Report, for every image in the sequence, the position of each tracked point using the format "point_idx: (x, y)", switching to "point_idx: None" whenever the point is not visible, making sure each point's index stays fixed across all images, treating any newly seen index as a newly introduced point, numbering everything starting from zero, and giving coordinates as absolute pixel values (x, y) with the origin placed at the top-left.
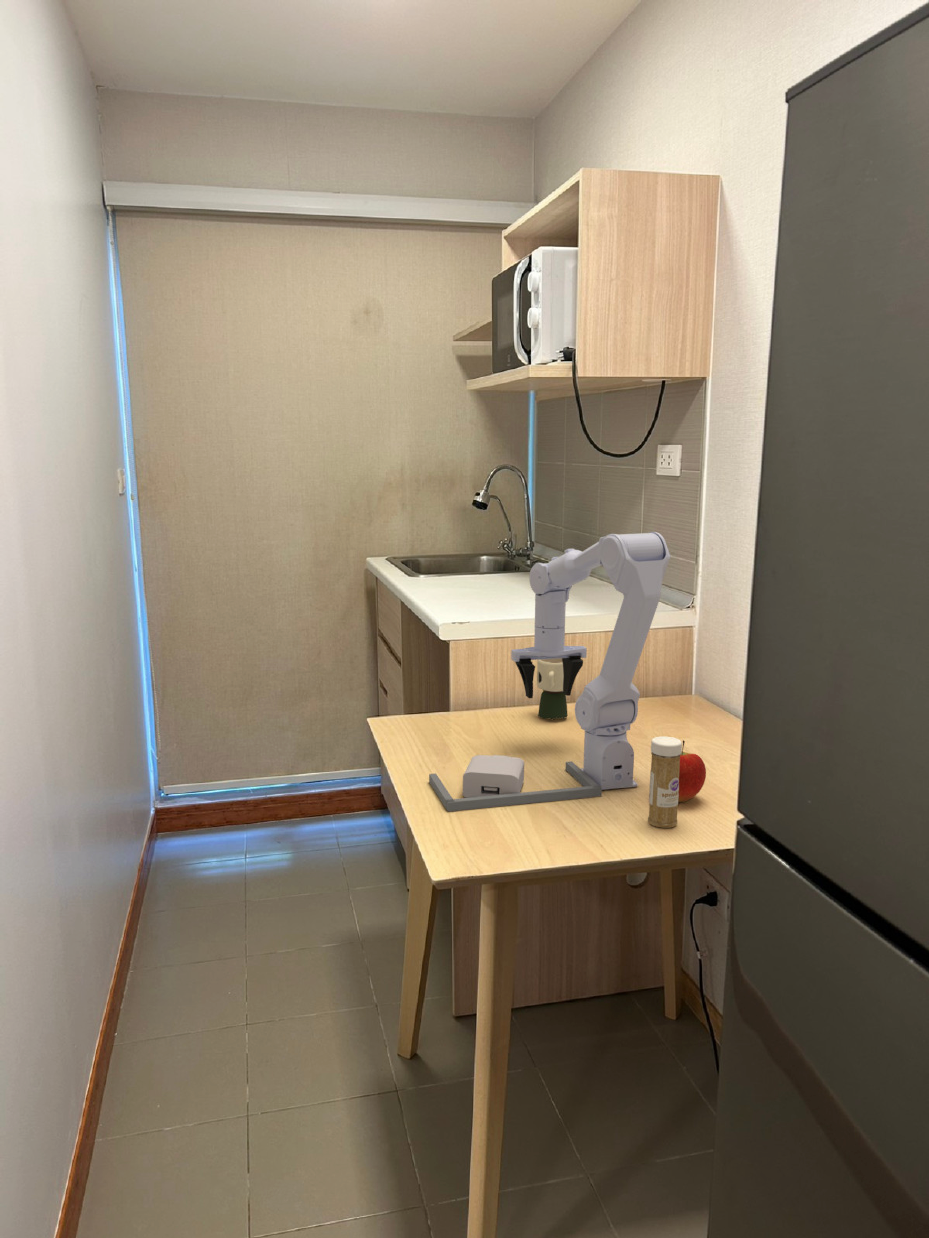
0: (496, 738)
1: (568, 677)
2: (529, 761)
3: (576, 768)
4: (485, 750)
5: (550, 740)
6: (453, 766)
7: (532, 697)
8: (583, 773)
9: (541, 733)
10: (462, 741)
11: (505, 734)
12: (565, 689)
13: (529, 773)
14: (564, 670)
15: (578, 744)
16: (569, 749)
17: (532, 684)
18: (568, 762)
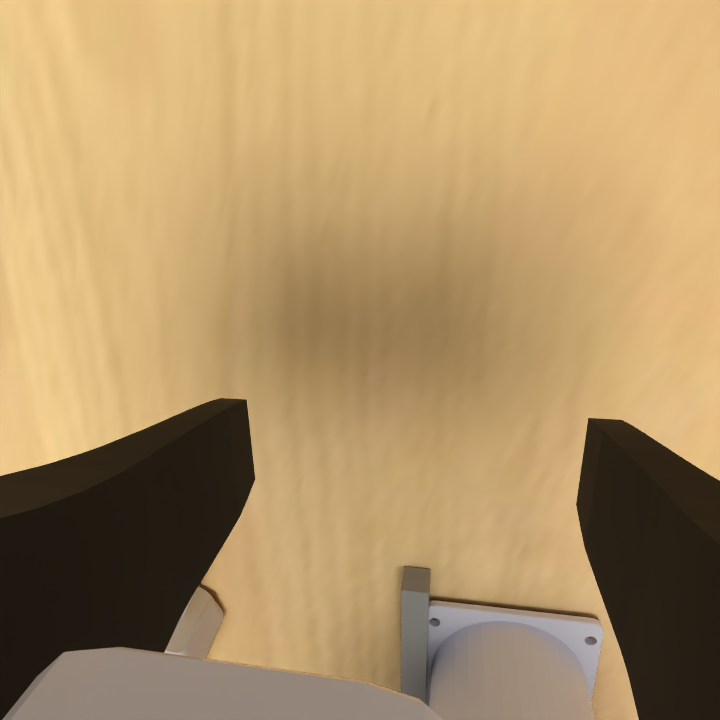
0: (219, 100)
1: (637, 650)
2: (297, 451)
3: (414, 651)
4: (142, 275)
5: (498, 206)
6: (12, 416)
7: (251, 484)
8: (418, 692)
9: (501, 59)
10: (45, 113)
11: (282, 32)
12: (593, 493)
13: (265, 553)
14: (688, 575)
15: (618, 309)
16: (531, 366)
17: (191, 586)
18: (409, 597)
